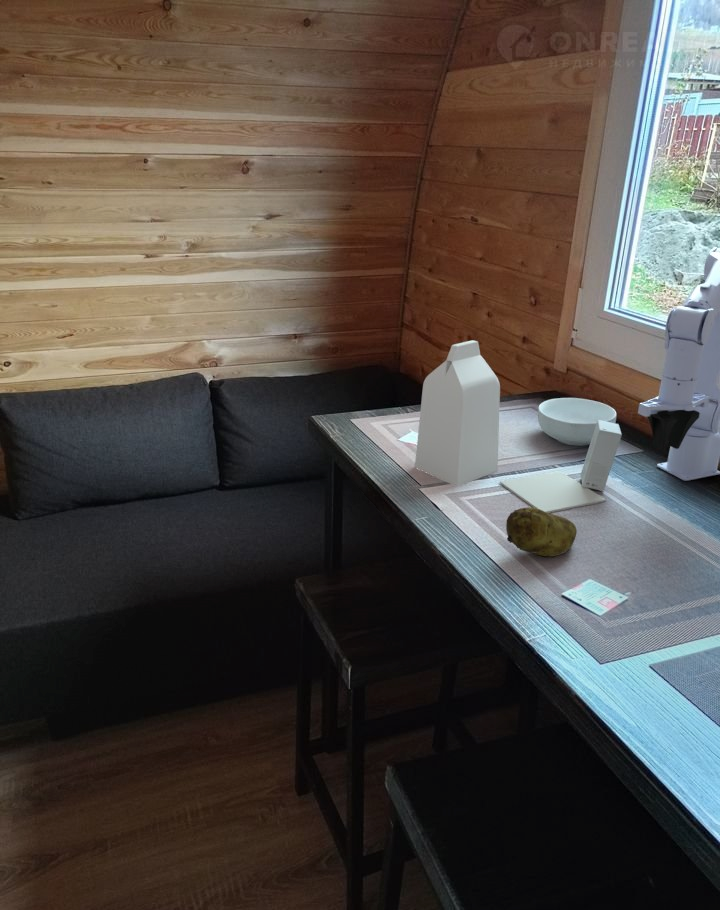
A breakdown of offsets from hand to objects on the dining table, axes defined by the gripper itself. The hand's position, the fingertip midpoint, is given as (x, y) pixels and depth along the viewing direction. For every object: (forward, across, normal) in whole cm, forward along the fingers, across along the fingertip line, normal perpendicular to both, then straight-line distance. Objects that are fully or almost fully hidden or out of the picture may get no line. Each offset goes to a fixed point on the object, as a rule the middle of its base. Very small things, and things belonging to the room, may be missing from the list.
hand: (666, 448), depth 140 cm
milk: (+11, -28, +26) cm, 40 cm away
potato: (+11, -32, -8) cm, 35 cm away
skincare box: (+10, -7, +10) cm, 16 cm away
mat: (+10, -16, +10) cm, 22 cm away
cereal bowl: (+11, +5, +31) cm, 33 cm away
